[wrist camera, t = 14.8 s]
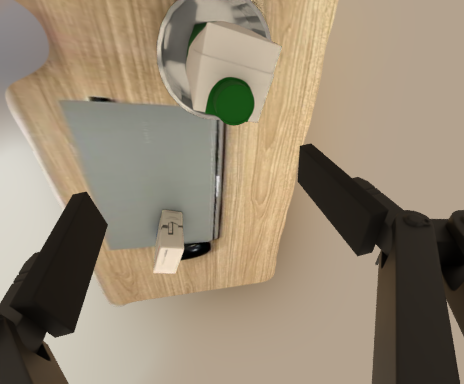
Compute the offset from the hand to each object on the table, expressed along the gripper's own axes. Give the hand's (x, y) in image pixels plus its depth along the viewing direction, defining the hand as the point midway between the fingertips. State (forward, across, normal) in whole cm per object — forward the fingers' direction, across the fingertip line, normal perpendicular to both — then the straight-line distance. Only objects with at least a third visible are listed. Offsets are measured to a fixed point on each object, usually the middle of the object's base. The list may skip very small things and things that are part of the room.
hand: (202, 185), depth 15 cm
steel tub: (+31, +6, +3) cm, 32 cm away
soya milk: (+31, +6, +3) cm, 32 cm away
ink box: (+32, -11, -30) cm, 45 cm away
